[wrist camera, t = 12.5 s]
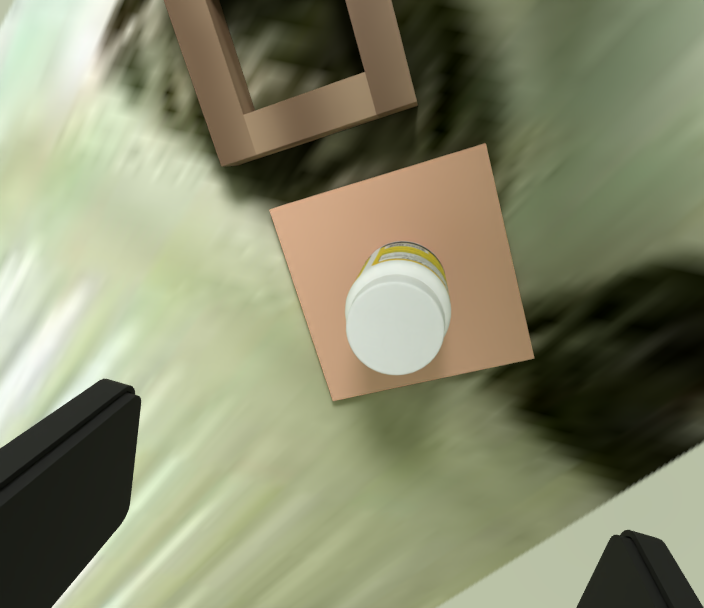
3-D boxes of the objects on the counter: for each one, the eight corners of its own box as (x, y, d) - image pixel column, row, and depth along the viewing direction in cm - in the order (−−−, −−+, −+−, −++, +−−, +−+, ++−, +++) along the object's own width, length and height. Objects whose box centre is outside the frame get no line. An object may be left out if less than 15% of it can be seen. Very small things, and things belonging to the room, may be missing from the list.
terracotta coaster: (484, 143, 26) (485, 143, 26) (532, 354, 29) (534, 358, 28) (272, 208, 29) (269, 209, 28) (334, 396, 31) (332, 401, 31)
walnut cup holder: (360, -120, 24) (354, -147, 22) (417, 105, 26) (416, 101, 24) (168, -36, 26) (145, -52, 24) (236, 165, 28) (221, 166, 26)
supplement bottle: (392, 338, 29) (379, 405, 21) (344, 272, 29) (311, 316, 21) (463, 292, 28) (478, 345, 20) (414, 222, 27) (408, 248, 19)
